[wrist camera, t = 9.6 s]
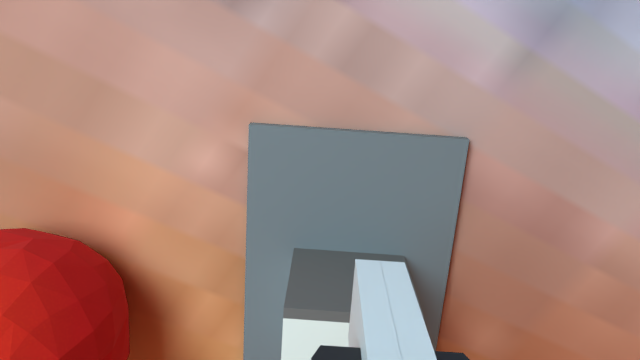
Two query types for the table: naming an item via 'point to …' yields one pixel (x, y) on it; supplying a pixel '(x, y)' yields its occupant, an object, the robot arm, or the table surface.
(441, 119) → the table surface
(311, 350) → the cream block
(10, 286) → the tomato
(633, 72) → the table surface
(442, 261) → the rubber mat
